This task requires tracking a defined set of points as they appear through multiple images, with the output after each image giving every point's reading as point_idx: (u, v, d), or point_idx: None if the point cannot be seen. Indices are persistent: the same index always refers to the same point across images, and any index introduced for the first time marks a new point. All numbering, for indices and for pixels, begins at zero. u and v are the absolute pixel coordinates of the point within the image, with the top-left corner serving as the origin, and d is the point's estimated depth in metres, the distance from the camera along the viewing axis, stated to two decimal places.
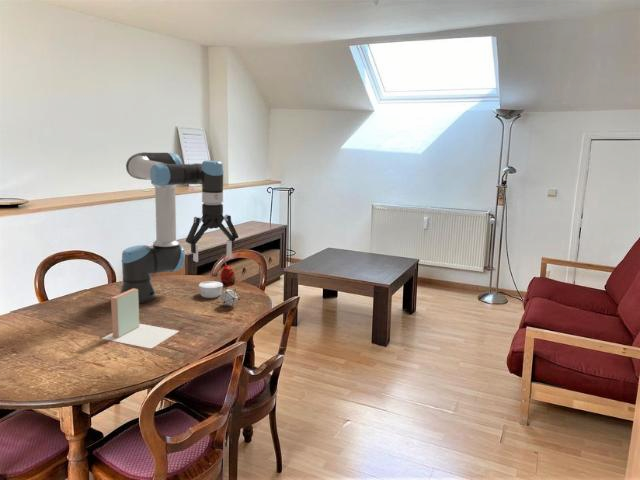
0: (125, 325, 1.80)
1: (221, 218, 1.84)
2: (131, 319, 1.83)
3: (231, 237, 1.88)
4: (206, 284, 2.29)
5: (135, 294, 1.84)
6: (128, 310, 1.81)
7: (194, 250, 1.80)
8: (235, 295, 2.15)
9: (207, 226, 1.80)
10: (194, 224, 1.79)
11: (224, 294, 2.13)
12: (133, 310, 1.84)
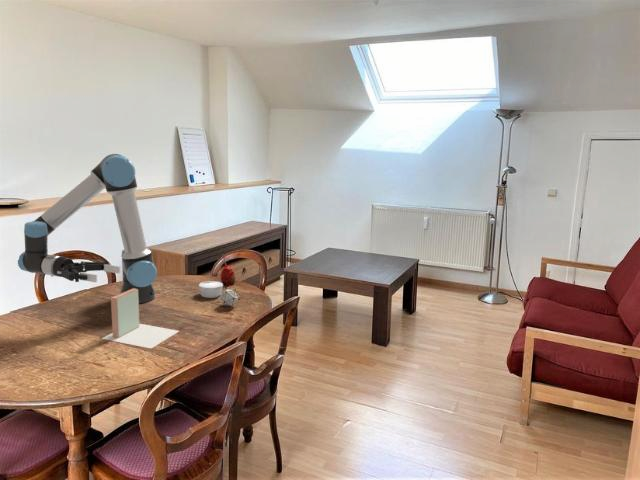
0: (125, 325, 1.80)
1: None
2: (131, 319, 1.83)
3: None
4: (206, 284, 2.29)
5: (135, 294, 1.84)
6: (128, 310, 1.81)
7: None
8: (235, 295, 2.15)
9: None
10: None
11: (224, 294, 2.13)
12: (133, 310, 1.84)
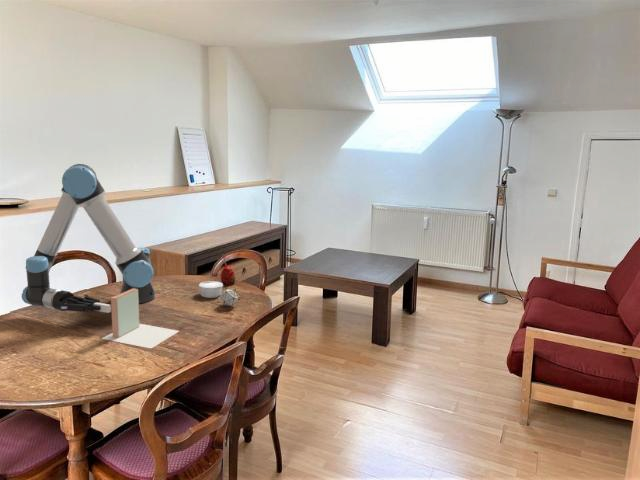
0: (125, 325, 1.80)
1: None
2: (131, 319, 1.83)
3: None
4: (206, 284, 2.29)
5: (135, 294, 1.84)
6: (128, 310, 1.81)
7: None
8: (235, 295, 2.15)
9: None
10: None
11: (224, 294, 2.13)
12: (133, 310, 1.84)
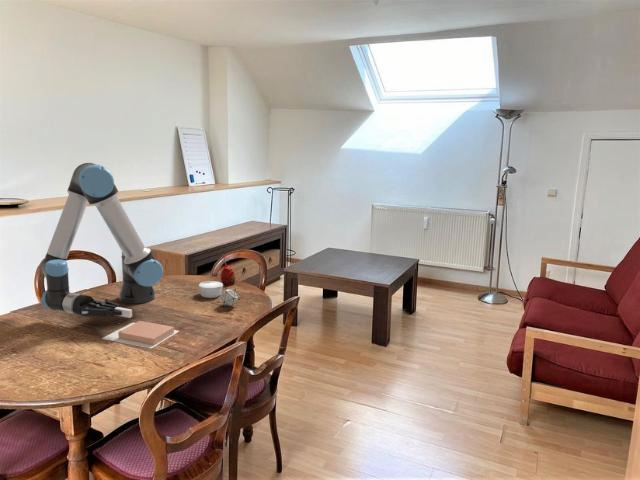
0: None
1: None
2: None
3: None
4: (206, 284, 2.29)
5: None
6: None
7: None
8: (235, 295, 2.15)
9: None
10: None
11: (224, 294, 2.13)
12: None
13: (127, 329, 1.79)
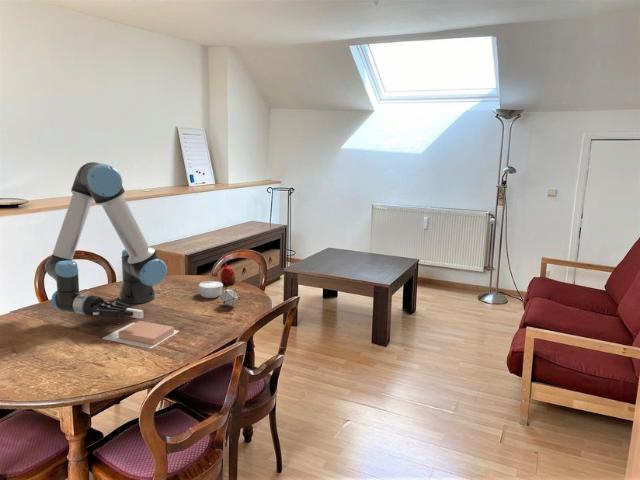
0: None
1: None
2: None
3: None
4: (206, 284, 2.29)
5: None
6: None
7: None
8: (235, 295, 2.15)
9: None
10: None
11: (224, 294, 2.13)
12: None
13: (127, 329, 1.79)
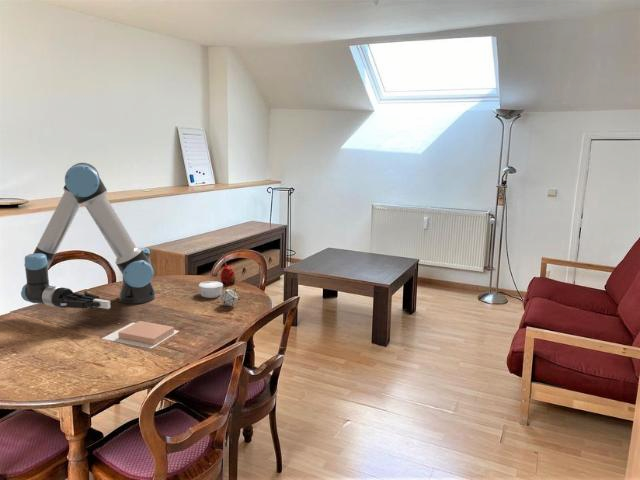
0: None
1: None
2: None
3: None
4: (206, 284, 2.29)
5: None
6: None
7: None
8: (235, 295, 2.15)
9: None
10: None
11: (224, 294, 2.13)
12: None
13: (127, 329, 1.79)
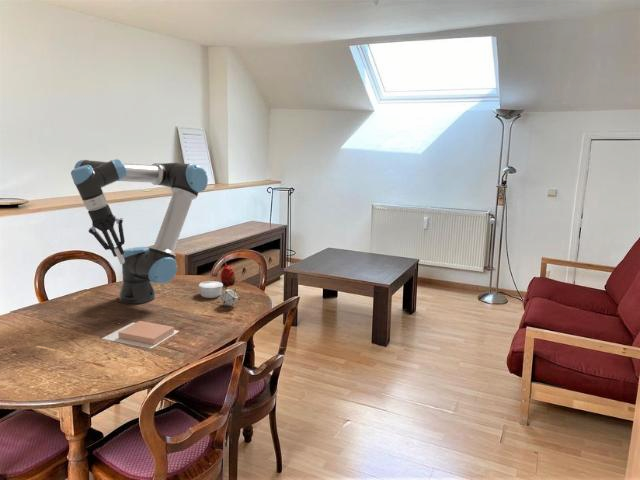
0: None
1: (111, 219, 1.84)
2: None
3: (117, 244, 1.88)
4: (206, 284, 2.29)
5: None
6: None
7: (115, 254, 1.89)
8: (235, 295, 2.15)
9: (103, 230, 1.84)
10: None
11: (224, 294, 2.13)
12: None
13: (127, 329, 1.79)
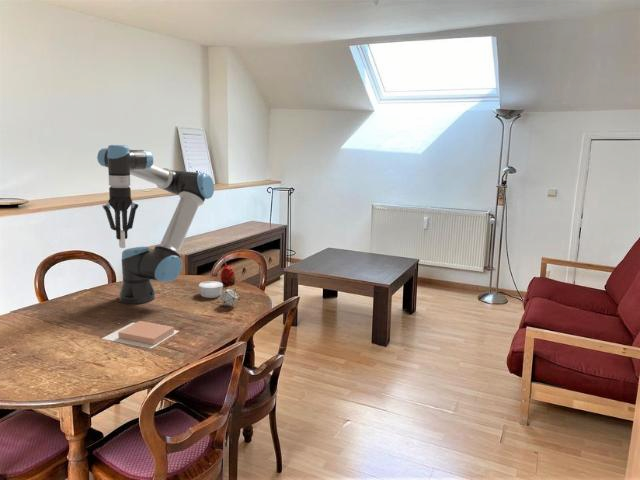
0: None
1: (129, 201, 1.88)
2: None
3: (125, 227, 1.89)
4: (206, 284, 2.29)
5: None
6: None
7: (119, 236, 1.89)
8: (235, 295, 2.15)
9: (118, 210, 1.86)
10: (106, 212, 1.85)
11: (224, 294, 2.13)
12: None
13: (127, 329, 1.79)
